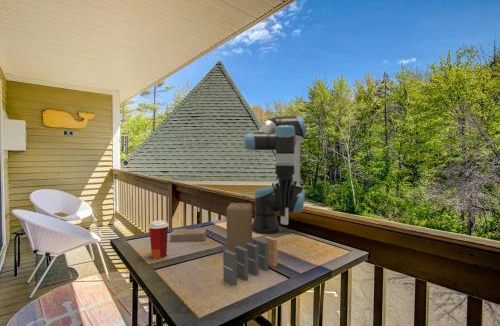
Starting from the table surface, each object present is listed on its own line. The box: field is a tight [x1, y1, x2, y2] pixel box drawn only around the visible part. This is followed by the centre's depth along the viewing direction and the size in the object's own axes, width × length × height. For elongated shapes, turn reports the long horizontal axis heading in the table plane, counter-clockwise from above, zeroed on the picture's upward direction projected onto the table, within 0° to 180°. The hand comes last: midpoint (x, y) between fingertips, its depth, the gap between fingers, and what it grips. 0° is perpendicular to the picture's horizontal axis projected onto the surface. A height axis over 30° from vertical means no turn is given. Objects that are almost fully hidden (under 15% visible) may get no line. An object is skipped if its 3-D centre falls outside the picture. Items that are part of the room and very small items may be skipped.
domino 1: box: [222, 249, 238, 286], centre depth 85 cm, size 2×5×10 cm, turn 43°
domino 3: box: [246, 242, 260, 276], centre depth 92 cm, size 2×5×10 cm, turn 43°
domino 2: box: [235, 246, 249, 281], centre depth 89 cm, size 2×5×10 cm, turn 44°
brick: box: [169, 227, 207, 243], centre depth 127 cm, size 17×8×5 cm, turn 94°
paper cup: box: [148, 219, 170, 260], centre depth 106 cm, size 8×8×14 cm
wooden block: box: [226, 202, 253, 253], centre depth 112 cm, size 10×10×20 cm
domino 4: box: [255, 238, 269, 272], centre depth 96 cm, size 2×5×10 cm, turn 43°
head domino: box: [264, 236, 278, 268], centre depth 99 cm, size 2×5×10 cm, turn 44°
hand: (284, 223), depth 104 cm, fingers closed
